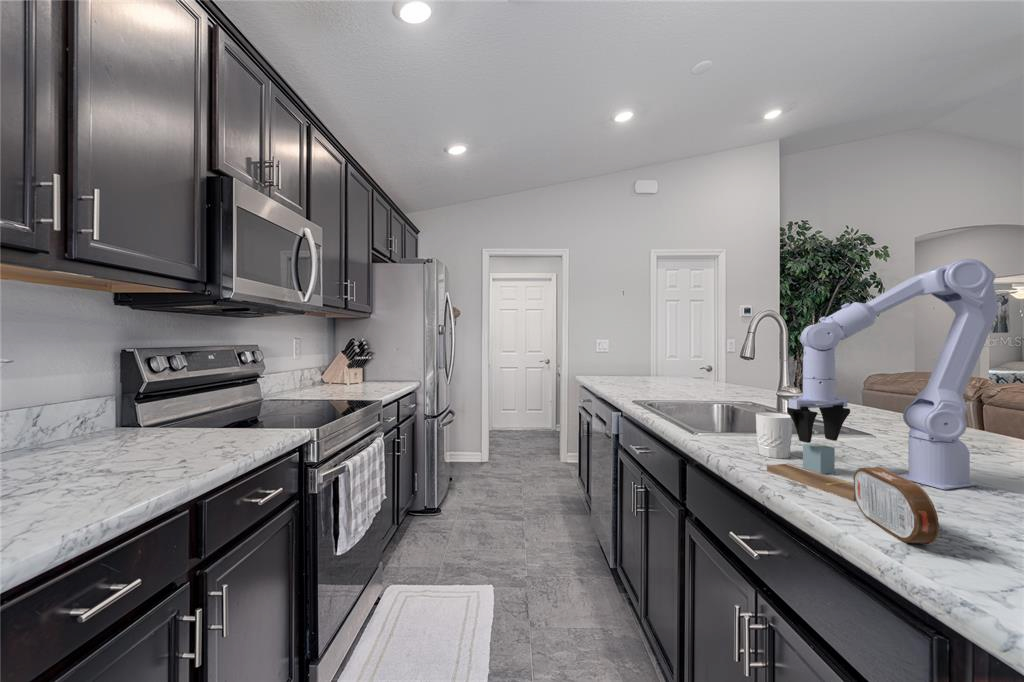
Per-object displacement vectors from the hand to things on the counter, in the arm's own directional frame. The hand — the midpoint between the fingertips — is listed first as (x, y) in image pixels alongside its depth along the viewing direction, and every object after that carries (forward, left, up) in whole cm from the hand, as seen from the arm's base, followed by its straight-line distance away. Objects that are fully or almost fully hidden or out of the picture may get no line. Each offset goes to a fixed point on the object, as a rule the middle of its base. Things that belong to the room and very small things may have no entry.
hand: (818, 440), depth 93 cm
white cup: (-2, -13, -7) cm, 15 cm away
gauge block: (0, 0, -7) cm, 7 cm away
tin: (+18, +25, -7) cm, 32 cm away
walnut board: (+8, +6, -7) cm, 12 cm away
